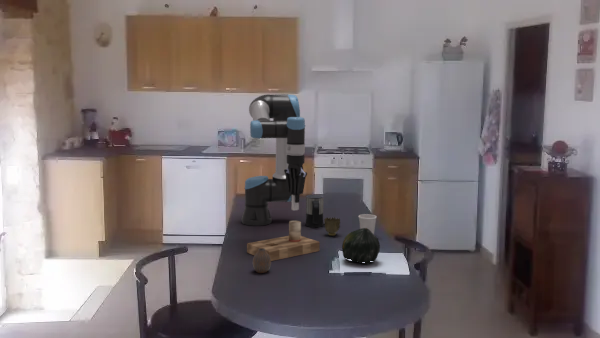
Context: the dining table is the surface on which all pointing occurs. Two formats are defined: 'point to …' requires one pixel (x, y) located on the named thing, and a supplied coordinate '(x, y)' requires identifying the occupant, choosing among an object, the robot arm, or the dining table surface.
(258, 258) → the vase
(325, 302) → the dining table surface
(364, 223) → the dixie cup
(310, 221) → the milk frother
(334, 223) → the wire cup brush
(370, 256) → the squash
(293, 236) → the beech peg
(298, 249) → the oak board
